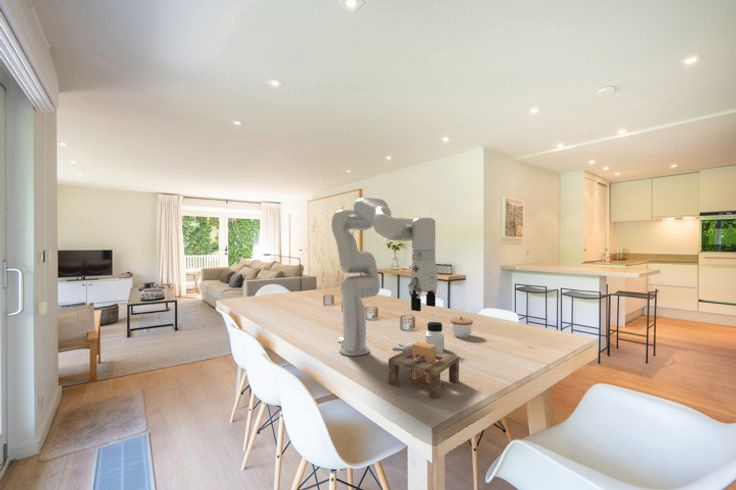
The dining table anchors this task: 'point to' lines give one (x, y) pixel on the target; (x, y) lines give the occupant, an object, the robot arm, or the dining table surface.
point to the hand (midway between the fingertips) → (423, 308)
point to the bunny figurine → (404, 348)
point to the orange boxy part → (427, 352)
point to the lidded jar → (461, 327)
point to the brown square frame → (425, 369)
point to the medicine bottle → (435, 336)
